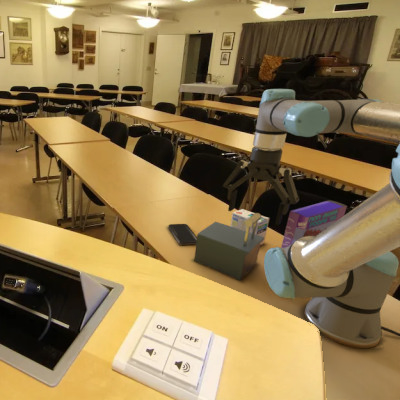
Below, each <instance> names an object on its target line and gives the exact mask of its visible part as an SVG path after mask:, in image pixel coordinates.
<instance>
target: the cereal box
mask: <svg viewBox="0 0 400 400" xmlns="http://www.w3.org/2000/svg"><path fill="white" fill-rule="evenodd" d="M347 208H348V205H346V204H343V203H341V202H339V201H335V200H331V199H329V200H325V201H322V202H319V203H315V204H311V205H308V206H307V205H306V206H304V207H299V208H296V209H292V210H290V211H289V215H288V217H287V222H286V226H285V229H284V235H283V237H282V238H283V239H282V243H281V246H280V248H285V247H288V246H290V245H291V244H293V243H294V242H295V241H297V240H298V239H300V238H302V237H306V236H317V235H318V234H319V233H321V232H322V231H324V230H325V229H326V228H328V227H329V226H331V225H332V224H333V223H335V222H336V221H338V220H339V219H340V218H342V217H343V216H344V215H346V210H347Z"/></svg>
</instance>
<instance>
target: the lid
mask: <svg viewBox="0 0 400 400" xmlns="http://www.w3.org/2000/svg"><path fill="white" fill-rule="evenodd" d="M254 213H255V214H254V215H252V216H251V217H250V218H249V219H247V220H246V221H245V225H246V226H247V228H246V231H243V230H240V229H237V228H234V227H231V225H227V224H224V223H221V222H218V221H214V222H213V223H211V224H210V225H208V226H206V227H205V228H204V229H202V230H201V231H200V232H197V235H196V237H197V236H200V237H202V238H205V239H208V240H211V241H213V242H216V243H219V244H222V245H224V246H227V247H230V248H232V249H235V250H238V251H241V252H243V253H246V254H249V253H250V252H251V251H252V250H254V249H255V248H256V247H257V246H258V245H259V244H260V243H261V242H262V241H263V240H264V238H265V239H266V236H265V237H262V236H259V235H256V234H255V231H256V226H257V222H258V220H260V219H261V216H262V215H261V214H260V213H259V212H254ZM252 225H254V226H253V231H252V233H250V232H249V229H250V227H251V226H252Z"/></svg>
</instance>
